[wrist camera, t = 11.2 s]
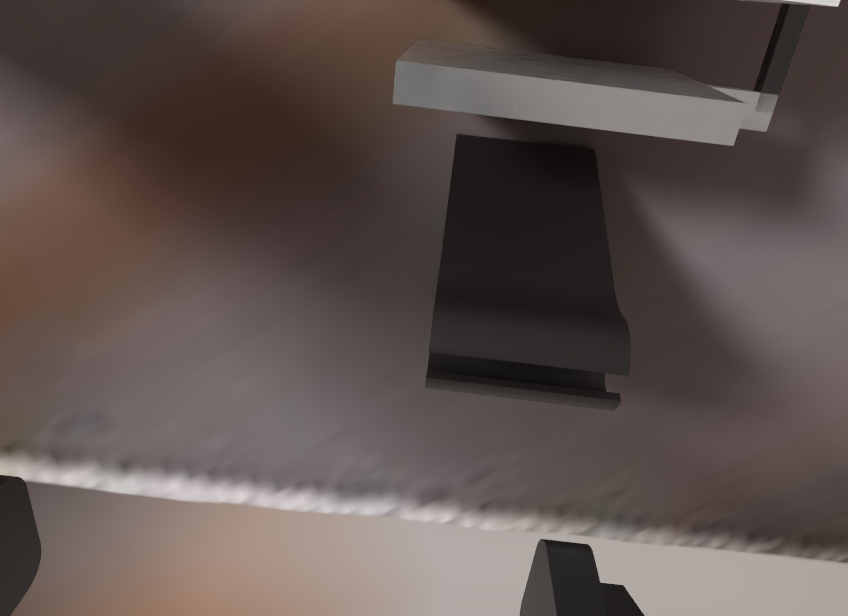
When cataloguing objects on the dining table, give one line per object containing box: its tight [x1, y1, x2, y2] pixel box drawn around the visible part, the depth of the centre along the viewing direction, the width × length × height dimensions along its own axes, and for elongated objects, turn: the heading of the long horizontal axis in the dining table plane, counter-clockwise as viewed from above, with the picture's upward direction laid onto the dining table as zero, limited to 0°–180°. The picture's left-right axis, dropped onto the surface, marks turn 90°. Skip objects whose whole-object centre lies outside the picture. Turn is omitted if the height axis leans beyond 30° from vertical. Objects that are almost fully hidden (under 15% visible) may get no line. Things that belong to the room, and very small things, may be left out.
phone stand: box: [425, 134, 630, 410], centre depth 25 cm, size 9×6×12 cm, turn 174°
